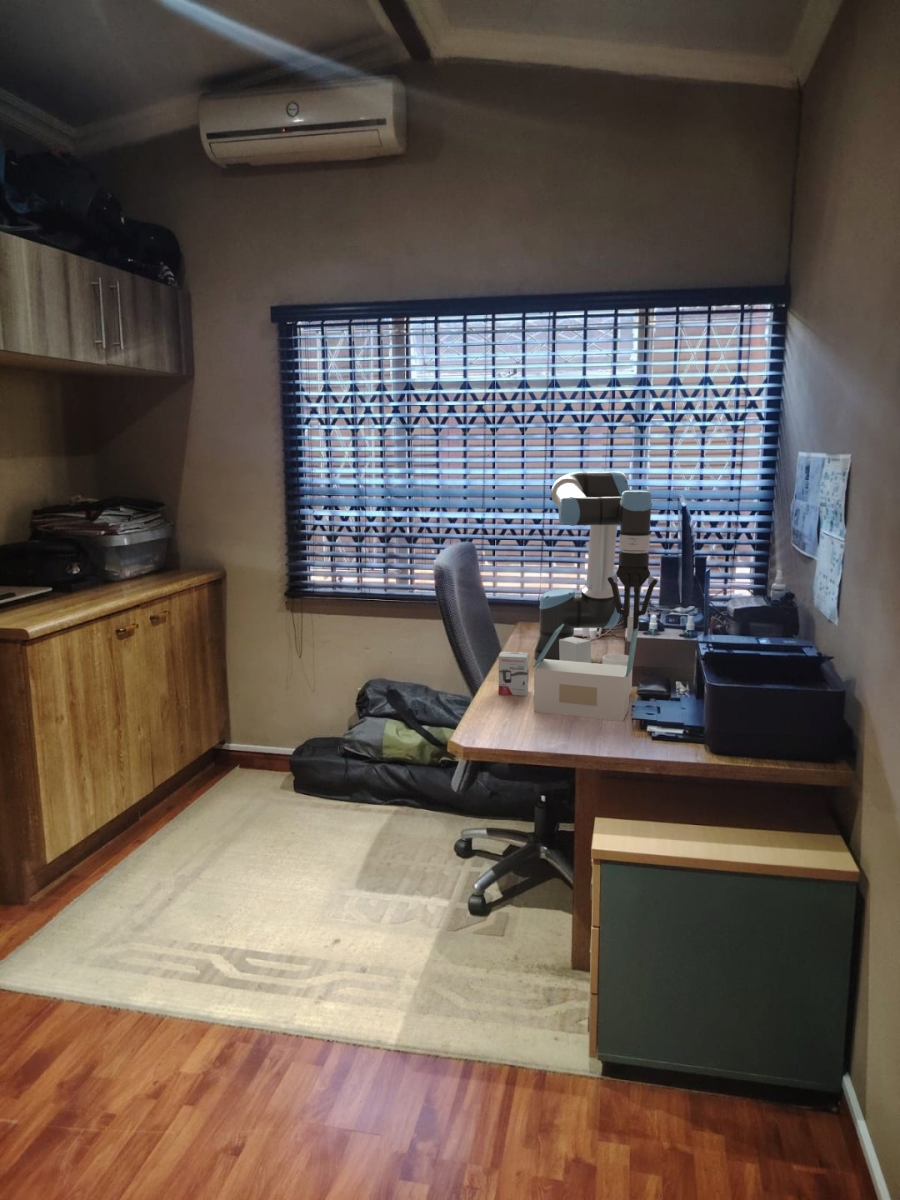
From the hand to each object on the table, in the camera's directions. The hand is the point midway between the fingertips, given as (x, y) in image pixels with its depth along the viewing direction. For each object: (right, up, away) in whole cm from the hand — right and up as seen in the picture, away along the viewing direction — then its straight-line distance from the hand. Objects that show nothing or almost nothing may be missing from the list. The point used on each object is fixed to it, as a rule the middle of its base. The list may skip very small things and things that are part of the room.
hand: (630, 640), depth 203 cm
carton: (-11, -20, +8) cm, 24 cm away
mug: (+1, -17, +22) cm, 28 cm away
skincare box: (-10, -16, +29) cm, 35 cm away
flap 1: (-20, -2, +9) cm, 22 cm away
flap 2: (0, -3, +1) cm, 3 cm away
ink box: (-29, -17, +24) cm, 41 cm away
